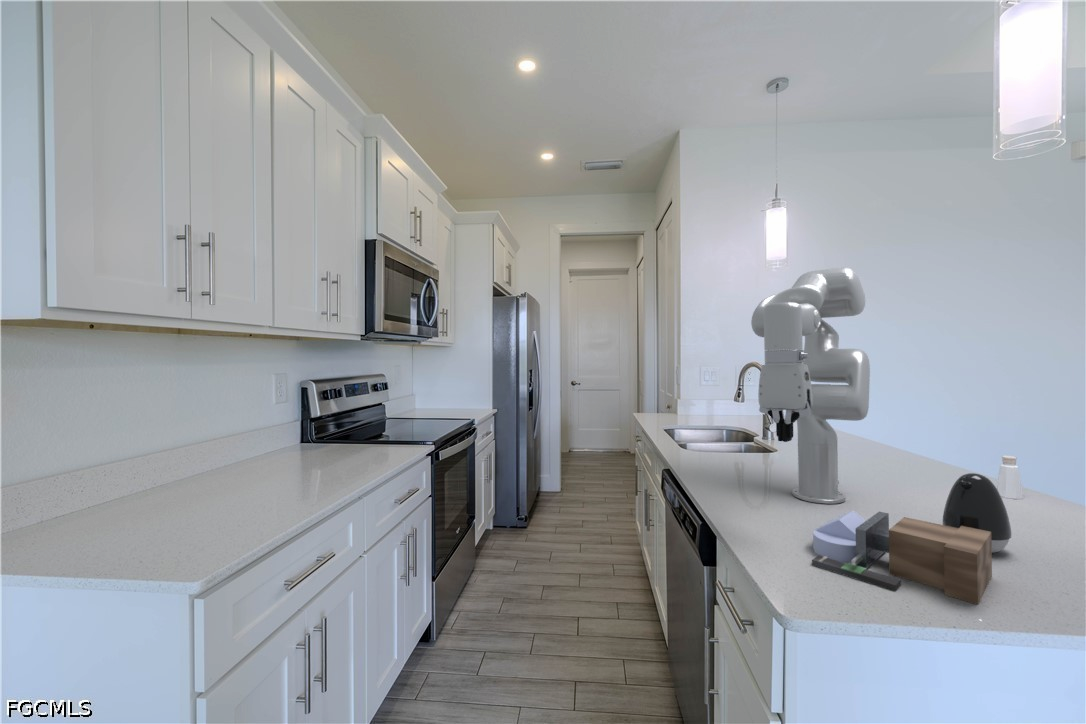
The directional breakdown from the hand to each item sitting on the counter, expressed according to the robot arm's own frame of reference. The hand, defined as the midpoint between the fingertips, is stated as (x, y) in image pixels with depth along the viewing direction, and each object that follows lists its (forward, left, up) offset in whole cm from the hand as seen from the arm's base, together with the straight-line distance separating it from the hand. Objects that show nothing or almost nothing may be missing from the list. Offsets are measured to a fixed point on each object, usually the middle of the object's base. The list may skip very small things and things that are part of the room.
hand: (784, 440), depth 102 cm
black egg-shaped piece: (-21, +28, -21) cm, 41 cm away
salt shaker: (-72, +28, -21) cm, 80 cm away
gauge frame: (+3, +21, -21) cm, 30 cm away
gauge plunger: (+2, +21, -21) cm, 29 cm away
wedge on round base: (0, +11, -21) cm, 24 cm away
